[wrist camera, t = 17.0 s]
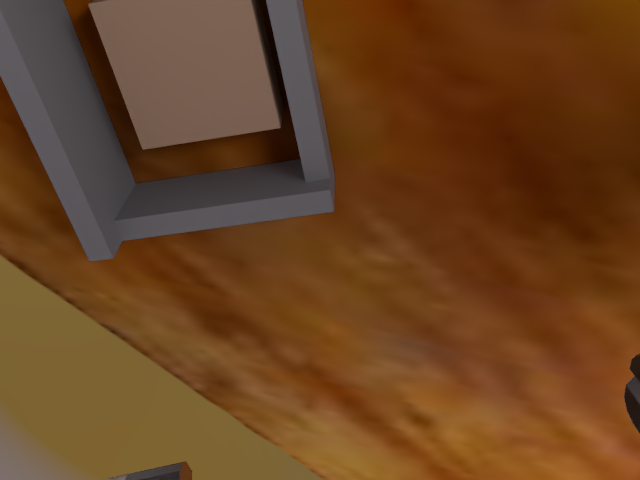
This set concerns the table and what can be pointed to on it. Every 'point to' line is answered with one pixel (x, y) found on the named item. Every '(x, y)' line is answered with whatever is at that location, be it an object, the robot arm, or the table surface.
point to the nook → (167, 111)
